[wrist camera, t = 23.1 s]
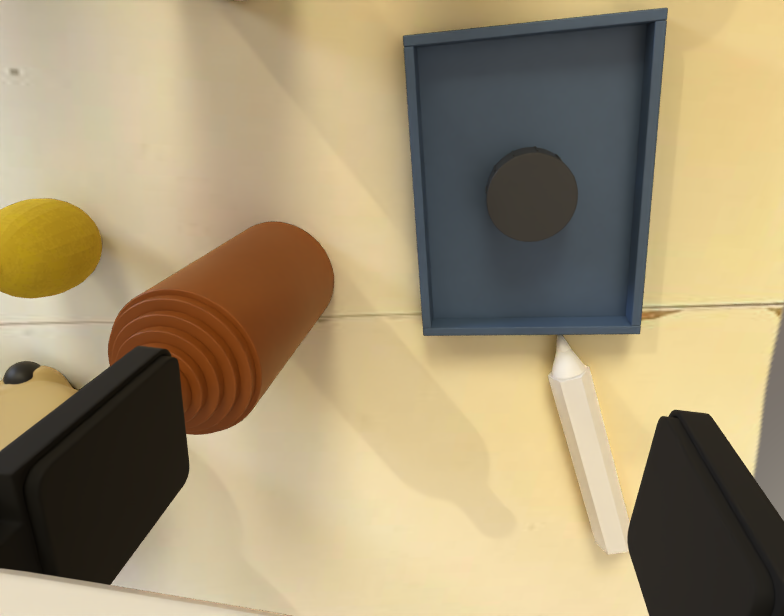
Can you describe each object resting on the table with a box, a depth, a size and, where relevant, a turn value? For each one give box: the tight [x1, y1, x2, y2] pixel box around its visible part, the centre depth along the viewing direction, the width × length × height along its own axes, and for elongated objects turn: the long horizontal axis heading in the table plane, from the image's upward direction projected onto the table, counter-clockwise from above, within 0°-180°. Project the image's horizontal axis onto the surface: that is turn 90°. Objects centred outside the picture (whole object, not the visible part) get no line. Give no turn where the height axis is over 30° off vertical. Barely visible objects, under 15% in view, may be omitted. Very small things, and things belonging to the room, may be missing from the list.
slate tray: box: [403, 8, 668, 336], centre depth 30 cm, size 16×12×2 cm
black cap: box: [486, 146, 578, 242], centre depth 29 cm, size 4×4×3 cm
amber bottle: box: [108, 222, 334, 435], centre depth 27 cm, size 7×7×17 cm
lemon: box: [0, 198, 102, 298], centre depth 33 cm, size 6×6×8 cm
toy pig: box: [0, 361, 79, 451], centre depth 38 cm, size 10×12×11 cm
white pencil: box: [548, 335, 630, 555], centre depth 35 cm, size 3×2×16 cm
